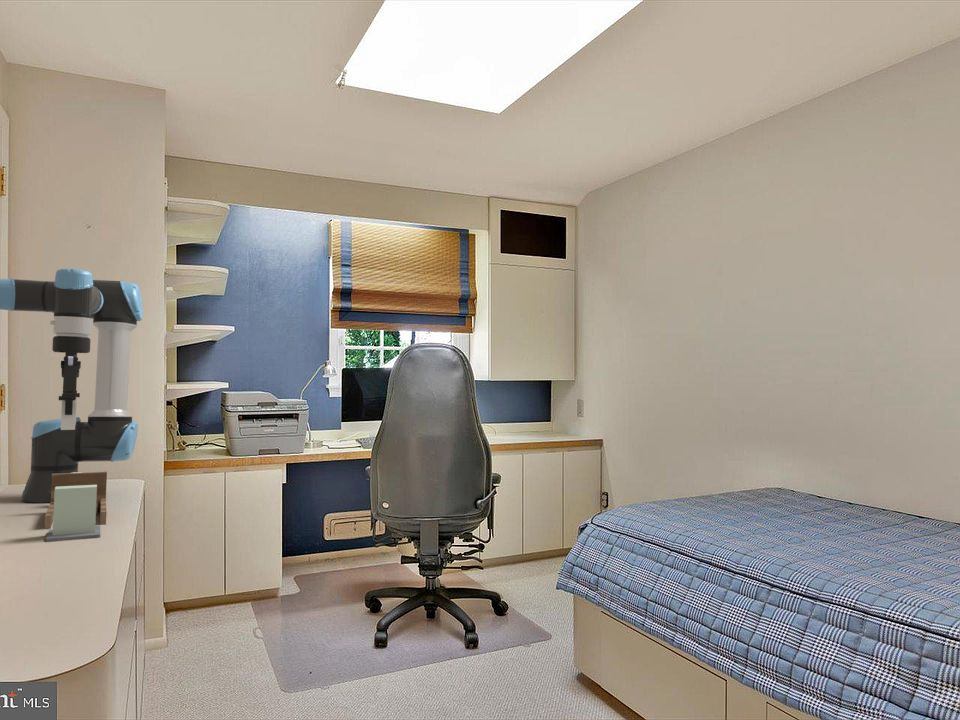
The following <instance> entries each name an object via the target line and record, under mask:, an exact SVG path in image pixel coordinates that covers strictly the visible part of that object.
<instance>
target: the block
mask: <svg viewBox="0 0 960 720" xmlns="http://www.w3.org/2000/svg"><path fill="white" fill-rule="evenodd" d="M96 498H97V485H79V486H59V487H55V492H54V514H53V523H52V530H53V535H66V534H78V533H91V532H95V526H96V520H97V519H96V518H97V516H96V515H97V514H96Z"/></svg>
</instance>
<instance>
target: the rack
mask: <svg viewBox="0 0 960 720" xmlns="http://www.w3.org/2000/svg"><path fill="white" fill-rule="evenodd" d="M107 476H108V471H93V472H91V471H90V472H87V471H86V473H84V472H82V473H62V474H52V483H51V502H49V505H48V508H47V509H46V513H45V515H44V529H45V530H46V529H51V528H52V527H53V514H54V492H55V487H59V486H79V485H97V512H99V511H100V513H99V520H100V521H99V522H100V523H99V526H100V525H107V484H108V483H107V479H108V477H107Z"/></svg>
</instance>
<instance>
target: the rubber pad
mask: <svg viewBox="0 0 960 720" xmlns="http://www.w3.org/2000/svg"><path fill="white" fill-rule="evenodd" d="M95 538H101V526H100V525H95V532H91V533H78V534H66V535H53V529H49V530H48V531H47V535H46V538H45V542H59V541H72V540H83V539H95Z"/></svg>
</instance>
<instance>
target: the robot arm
mask: <svg viewBox="0 0 960 720" xmlns="http://www.w3.org/2000/svg"><path fill="white" fill-rule="evenodd" d="M141 294H142V293H141V289H140V287H139V286H138V284H136V283H135V282H129V281H123V280H102V279H101V280H100V279H93V274H92V272H90V271H88V270H84V269H77V268H60V269H58V270H57V271H55V277H54V280H53V281H48V280H47V281H45V280H33V279H17V278H16V279H15V278H0V310H3V311H11V312H12V311H13V312H14V311H15V312H39V313H41V312H42V313H43V312H44V313H52V314H53V320H50V322H49V323H50V325H52V326H53V327H52V328H53V329H52V330H53V331H52V332H53V334H55V335H56V336H53V337H52V348H51V350H52V352H54V353H64V354H65V355H64V356H63V360H61V361H60V369H61V377H62V378H63V383H62V393H61V395H58V401H61V410H60V411H61V416H60V418H58V419H49V420H47V419H46V420H41V421H37V422H35V423H34V424H33V427H32V436H31V438H30V439H31V455H30V473H29V476H28V478H27V482H26V484H25V486H24V490H22V494H21V501H23V502H24V503H43V504H44V503H50V502H51V483H52V474H62V473H73V472H79V462H85V463H86V462H88V463H89V462H90V463H91V462H111V463H114V462H118V461H120V462H121V461H127V460H129V459H130V458H131V456H132V455H133V454H134V450H135V446H136V444H137V443H136V442H137V438H138V431H139V430H138V427H139V424H138V422H137V421H133V414H131V412H129V411H128V395H129V371H130V354H131V353H130V351H131V337H132V336H131V333H132V331H134V329H135V330H136V328H137V325H138V322H140V321H142V320H143V319H144V305H143V299H142V295H141ZM92 326H94V327H95V328H96V329H97V330H98V333H97V351H96V368H95V369H96V373H95V389H94V390H95V391H94V393H95V395H94V409H93V411H92V412H91V413H89V414H88V416H87V421H81V418H80V417H78V416H77V401H78V398H80V397H81V396H80V395H81V394H80V393H79V392H78V390H77V382H78V381H77V380H78V378H79V377H80V369H81V365H82V363H81V362H82V361H80V360H79V357H78V354H88V353H90V352H91V339H90V337H89V336H91V335H92Z"/></svg>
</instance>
